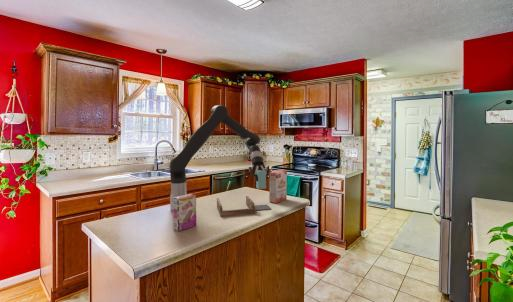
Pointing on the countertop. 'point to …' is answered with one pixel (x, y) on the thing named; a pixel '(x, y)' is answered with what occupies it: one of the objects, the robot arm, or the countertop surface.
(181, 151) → the robot arm
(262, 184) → the teal block
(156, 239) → the countertop surface
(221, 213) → the lane
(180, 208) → the candy bar box
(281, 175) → the cracker box
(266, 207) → the pad
